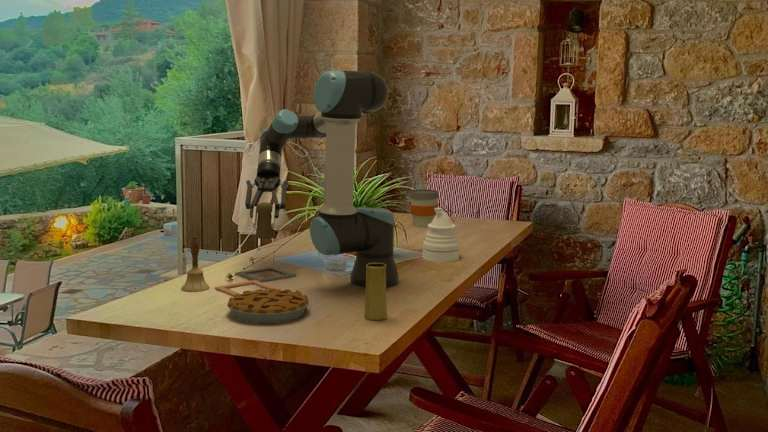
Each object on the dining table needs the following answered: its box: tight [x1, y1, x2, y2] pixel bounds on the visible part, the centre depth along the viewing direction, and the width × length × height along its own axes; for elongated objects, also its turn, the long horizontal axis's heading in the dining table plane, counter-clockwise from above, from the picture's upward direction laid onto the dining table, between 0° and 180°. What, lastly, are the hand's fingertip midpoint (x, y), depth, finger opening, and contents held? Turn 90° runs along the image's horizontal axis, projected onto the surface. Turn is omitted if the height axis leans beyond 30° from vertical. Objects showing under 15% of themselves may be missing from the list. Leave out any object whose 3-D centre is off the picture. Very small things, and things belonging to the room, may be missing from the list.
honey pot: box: [422, 207, 460, 263], centre depth 285 cm, size 13×13×18 cm
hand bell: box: [180, 235, 210, 293], centre depth 240 cm, size 8×8×16 cm
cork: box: [255, 202, 276, 240], centre depth 255 cm, size 6×6×11 cm
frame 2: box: [234, 266, 297, 283], centre depth 258 cm, size 14×14×1 cm
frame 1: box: [214, 280, 281, 298], centre depth 240 cm, size 14×14×1 cm
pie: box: [226, 288, 310, 324], centre depth 216 cm, size 22×22×5 cm
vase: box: [364, 263, 388, 321], centre depth 213 cm, size 6×6×14 cm
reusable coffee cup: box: [409, 188, 440, 228], centre depth 348 cm, size 13×13×15 cm
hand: (263, 225), depth 251 cm, fingers closed on cork, 5 cm apart
